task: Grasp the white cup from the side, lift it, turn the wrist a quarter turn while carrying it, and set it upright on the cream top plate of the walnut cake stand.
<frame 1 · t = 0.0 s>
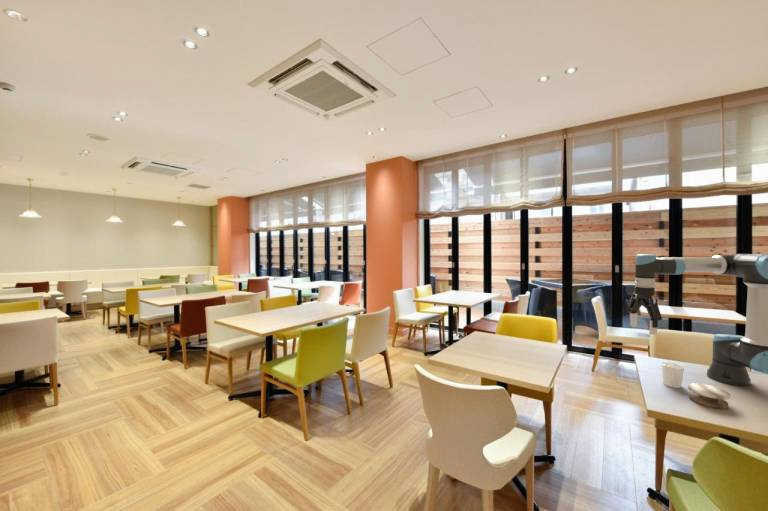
hand: (642, 330, 152), 28 cm above the table, fingers open, 13 cm apart
cake stand: (707, 402, 139), on the table
white cup: (672, 385, 155), on the table
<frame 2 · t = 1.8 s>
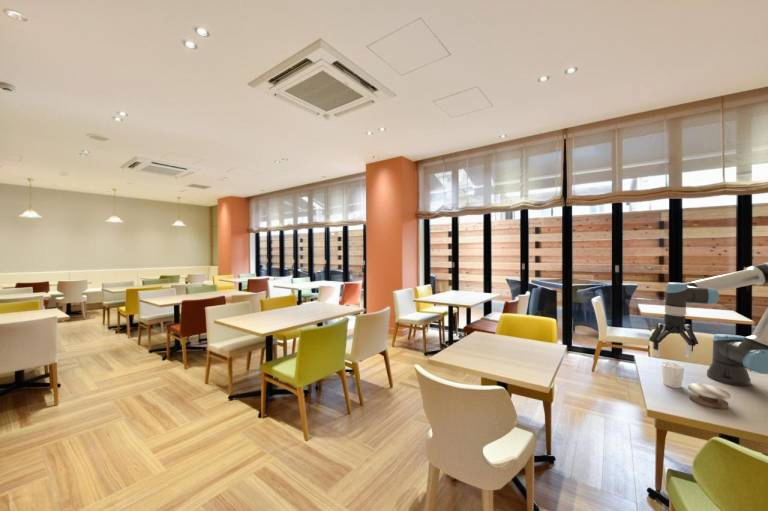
hand: (672, 357, 154), 14 cm above the table, fingers open, 13 cm apart
nothing on the table moved.
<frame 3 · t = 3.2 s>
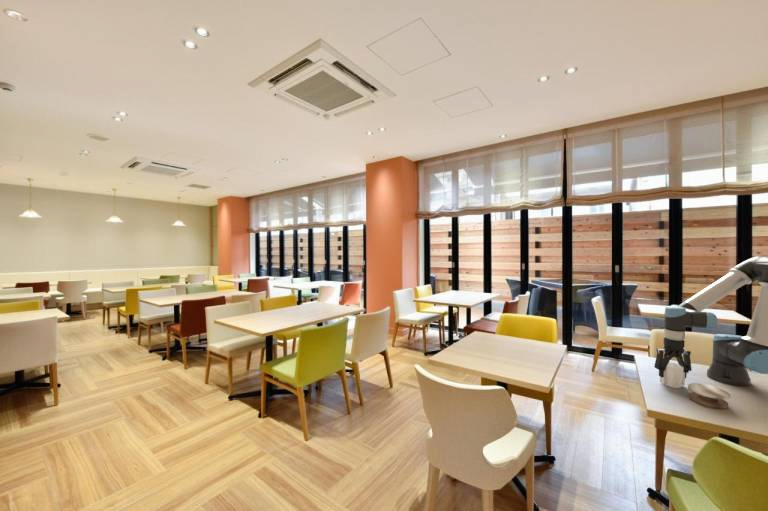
hand: (672, 383, 155), 1 cm above the table, fingers closed on white cup, 8 cm apart
white cup: (672, 385, 155), on the table, touching gripper
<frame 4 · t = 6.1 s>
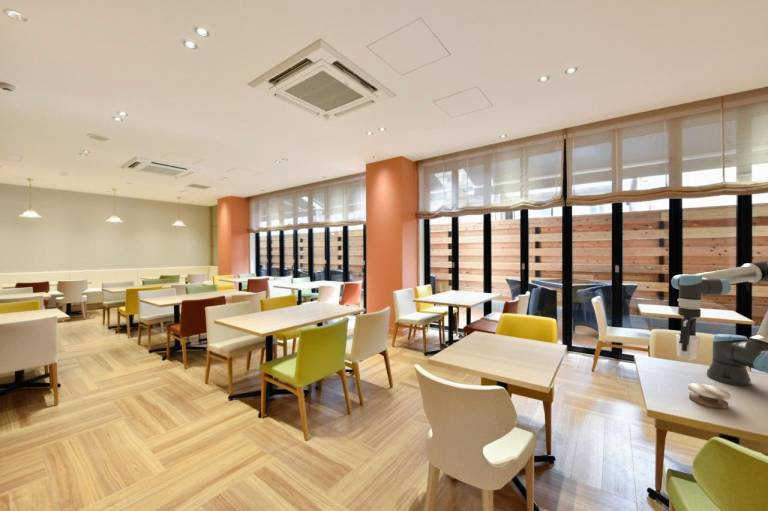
hand: (687, 355, 148), 17 cm above the table, fingers closed on white cup, 7 cm apart
white cup: (686, 357, 148), point 16 cm above the table, touching gripper
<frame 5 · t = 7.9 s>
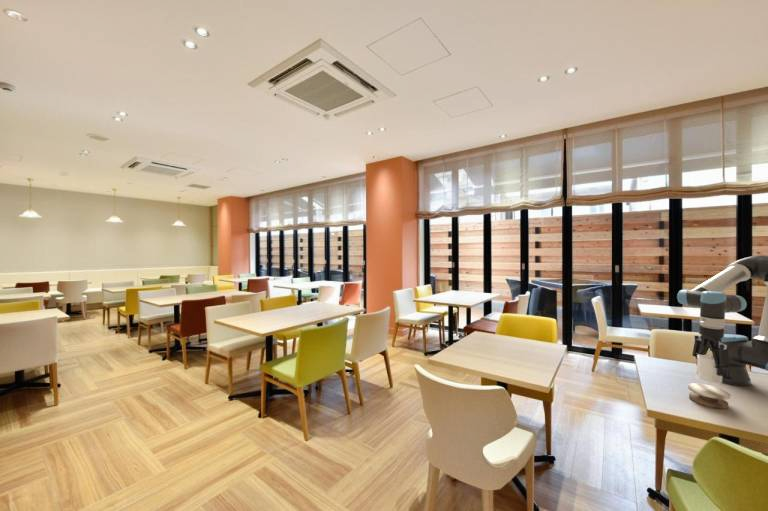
hand: (708, 378, 138), 11 cm above the table, fingers closed on white cup, 7 cm apart
white cup: (708, 380, 138), point 10 cm above the table, touching gripper
when the fingers open (8 cm above the table, at t = 8.9 s): white cup drops 1 cm, resting on cake stand.
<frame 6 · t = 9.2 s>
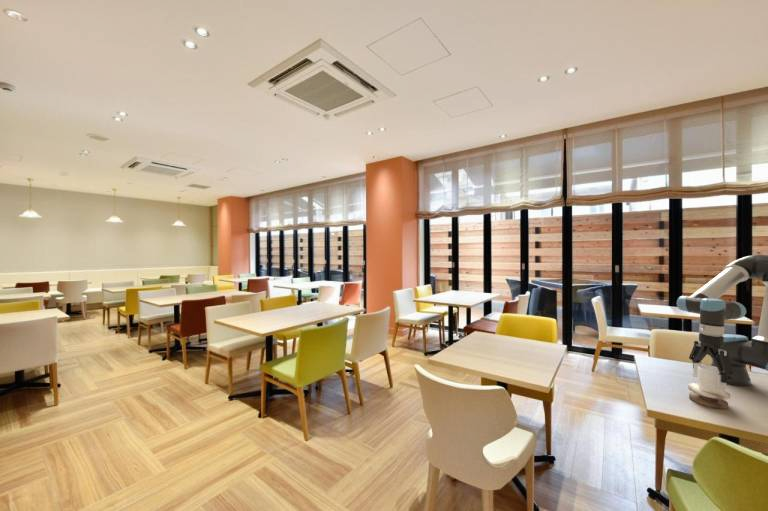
hand: (708, 383, 138), 9 cm above the table, fingers open, 11 cm apart
white cup: (709, 390, 138), point 5 cm above the table, touching cake stand
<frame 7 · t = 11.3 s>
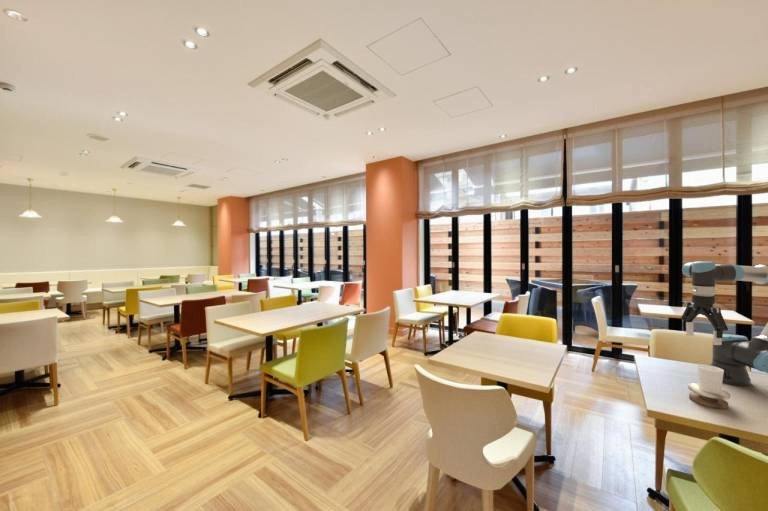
hand: (702, 339, 147), 25 cm above the table, fingers open, 13 cm apart
nothing on the table moved.
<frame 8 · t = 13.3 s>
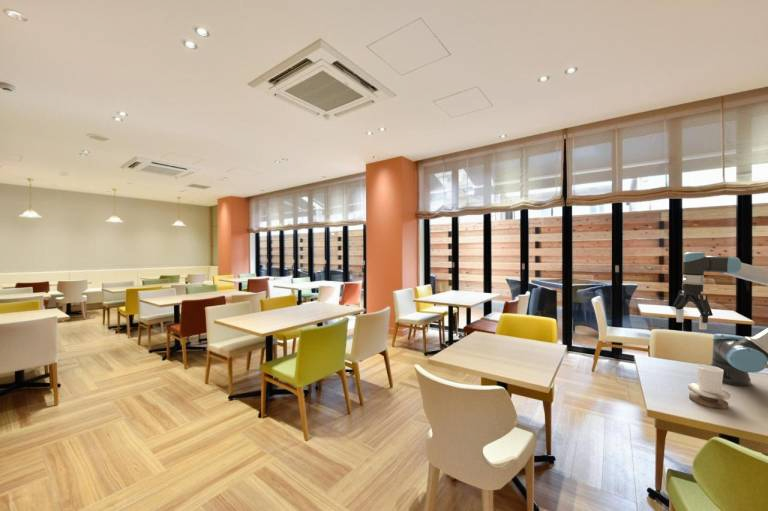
hand: (690, 325, 157), 29 cm above the table, fingers open, 13 cm apart
nothing on the table moved.
at the end: white cup 0.4 cm off-centre on the cake stand, point 5.3 cm above the cake stand's base; white cup tilted 0°; the gripper is holding nothing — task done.
